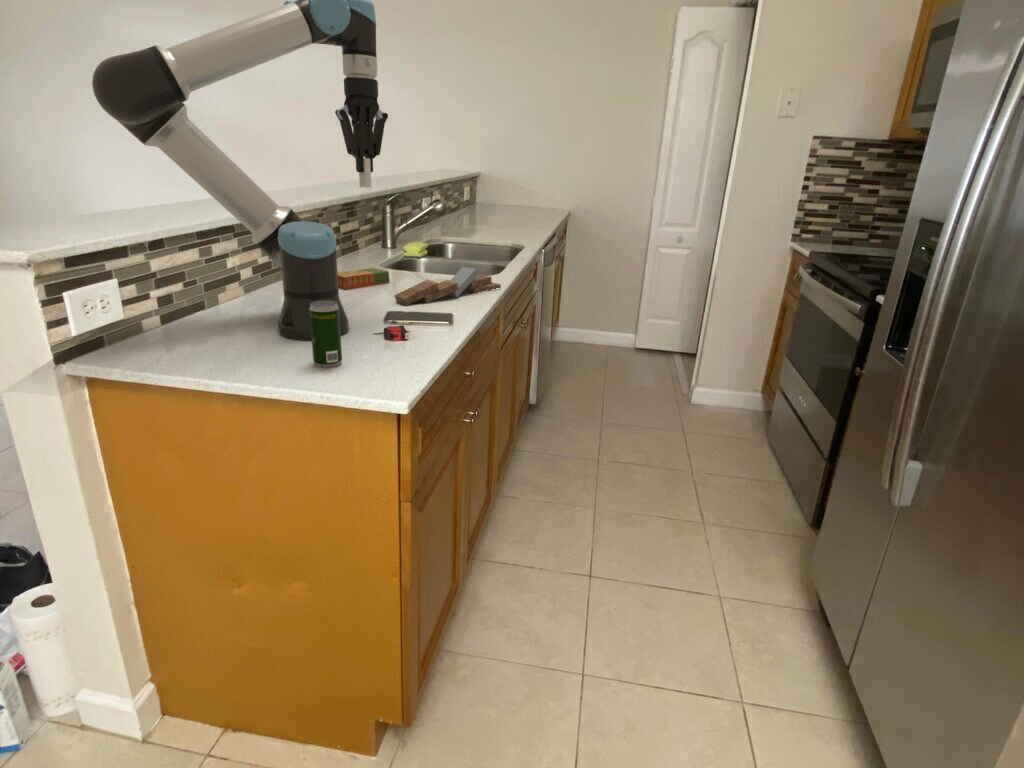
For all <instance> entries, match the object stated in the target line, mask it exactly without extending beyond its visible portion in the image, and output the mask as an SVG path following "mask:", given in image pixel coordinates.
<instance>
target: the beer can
mask: <svg viewBox="0 0 1024 768" xmlns="http://www.w3.org/2000/svg"><path fill="white" fill-rule="evenodd" d="M309 312H310V324H311V337H312V340H311V348H312V349H311V350H312V360H313V363H314V365H315V366H316V367H317V368H325V369H327V368H329V369H330V368H335V367H338V366H340V365H341V363H342V361H343V353H342V352H343V351H342V350H343V349H342V335H341V334H340V318H339V307H338V306H337V302H336V301H331V300H319V301H313V302H311V303H310V308H309Z"/></svg>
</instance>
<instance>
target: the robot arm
mask: <svg viewBox="0 0 1024 768" xmlns="http://www.w3.org/2000/svg"><path fill="white" fill-rule="evenodd" d="M376 19H377V18H376V9H375V5H374V3H373V2H372V1H371V0H285V1H284V2H283V5H281V6H279V7H275V8H273V9H270V10H268V11H264V12H261V13H259V14H255V15H253V16H251V17H248V18H245V19H243V20H240V21H238V22H235V23H231V24H228V25H226V26H224V27H221V28H218V29H216V30H212V31H209V32H207V33H204V34H202V35H200V36H199V35H198V36H197V37H194V38H191V39H189V40H186V41H183V42H181V43H178V44H175V45H171V46H169V47H167V48H165V47H162V46H160V45H158V44H155V45H153V46H149V47H147V48H143V49H140V50H136V51H132V52H128V53H122V54H117V55H114V56H109V57H107V58H105V59H104V60H101V62H100V63H99V64H98V65H97V66H96V68H95V69H94V71H93V74H92V75H93V76H92V80H91V81H92V83H91V85H92V91H93V95H94V97H95V99H96V101H97V102H98V104H99V105H100V107H101V108H102V110H104V112H105V113H107V114H108V115H109V116H110V117H112V119H114V120H116V121H117V122H118V123H119V124H120V125H122V127H124V128H125V130H127V131H128V132H129V133H130V134H132V135H133V137H134V138H136V139H137V140H138V141H139V142H141V143H142V144H143V145H144V146H145V147H146V146H147V147H156V148H158V149H159V150H160V151H162V153H164V154H165V155H166V156H167V157H168V158H169V159H171V161H173V162H174V163H175V164H176V165H177V166H178V167H179V168H180V169H181V170H183V172H184V173H186V174H187V175H188V176H189V177H190V178H191V179H192V180H193V181H194V182H195V183H197V185H198V186H200V187H201V188H203V190H204V191H206V193H208V195H210V197H212V198H213V199H214V200H215V201H217V203H219V204H220V205H221V206H222V207H223V208H224V209H225V210H226V211H227V212H228V213H230V214H231V215H232V216H233V217H234V218H235V219H236V220H237V221H239V222H240V223H241V224H242V225H243V226H244V228H246V229H247V230H249V231H250V232H251V236H252V237H251V238H252V243H253V244H254V245H255V246H256V247H257V248H258V249H259V250H261V251H262V252H263V253H264V254H265V255H266V256H267V257H269V259H271V261H272V262H273V263H274V264H275V265H276V266H277V267H279V268H281V278H282V279H281V280H282V289H283V303H282V307H281V309H280V314H279V318H278V323H277V325H278V333H279V334H280V336H282V337H285V338H287V339H292V340H304V341H312V337H311V324H310V312H309V308H310V303H311V302H313V301H319V300H331V301H336V302H337V306H338V307H339V318H340V334H341V336H342V335H344V334H346V333H348V332H349V330H350V329H349V328H350V326H349V324H350V323H349V319H348V316H347V314H346V311H345V309H344V305H343V303H342V301H341V298H340V293H339V288H338V261H337V259H338V258H337V240H336V236H335V231H334V229H333V228H332V227H331V226H330V225H328V224H325V223H319V222H315V221H304V220H303V219H302V218H301V217H300V216H299V215H298V214H297V213H296V212H295V211H294V210H293V209H292V208H291V207H290V206H288V205H287V206H284V205H283V206H281V205H278V204H277V202H275V200H273V199H272V198H271V197H270V196H269V195H268V194H267V193H266V192H265V191H264V190H263V189H262V188H261V187H260V186H259V185H258V184H257V183H256V182H255V181H254V180H252V178H251V177H250V176H248V175H247V174H246V173H245V171H244V170H242V169H241V168H240V167H239V166H238V165H237V163H235V162H234V161H233V160H232V159H231V158H230V157H229V156H228V154H226V153H225V152H224V151H223V150H221V149H220V147H219V146H217V144H215V142H213V140H211V139H210V138H209V136H207V135H206V134H205V133H204V132H203V131H202V130H201V129H200V128H199V127H198V126H197V125H196V124H195V123H194V122H193V121H192V120H191V119H190V118H189V117H188V112H187V111H188V110H187V105H186V104H185V103H184V102H187V101H188V100H189V98H190V94H191V93H192V92H194V91H198V90H200V89H202V88H205V87H206V86H209V85H212V84H215V83H217V82H220V81H222V80H225V79H228V78H230V77H232V76H234V75H237V74H239V73H243V72H245V71H248V70H250V69H252V68H255V67H257V66H260V65H263V64H265V63H268V62H270V61H272V60H275V59H278V58H280V57H282V56H285V55H288V54H290V53H293V52H295V51H298V50H300V49H303V48H305V47H307V46H310V45H313V44H319V45H328V46H334V47H341V51H342V52H341V55H342V72H343V73H342V74H343V75H344V76H345V77H344V79H343V89H344V90H343V91H344V92H343V93H344V95H345V100H344V103H343V106H342V107H341V108H340V109H336V110H335V112H334V113H335V115H336V117H337V119H338V121H339V124H340V128H341V131H342V136H343V139H344V145H345V147H346V152H347V154H348V155H350V156H352V157H353V158H355V171H356V172H357V173H358V177H359V179H358V180H359V187H360V188H372V176H371V175H372V173H373V172H374V161H373V160H374V159H375V158H376V157H377V156H380V154H381V152H382V151H381V149H382V145H383V143H382V142H383V138H384V137H383V136H384V131H385V124H386V122H387V121H388V120H387V119H388V118H389V115H388V113H387V112H384V111H382V110H381V109H380V104H379V102H378V97H379V83H378V82H379V81H378V80H377V79H376V78H377V77H378V58H377V55H378V54H377V22H376V21H377V20H376Z"/></svg>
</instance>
